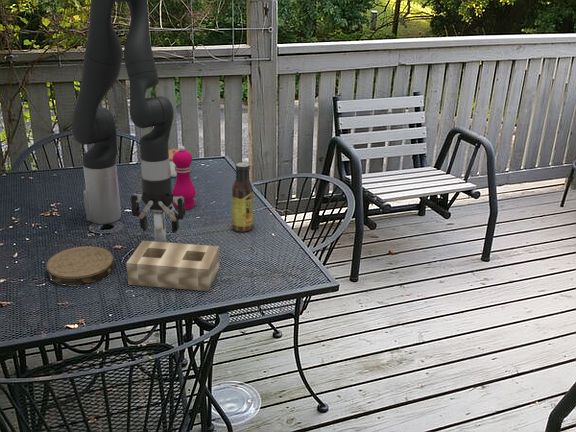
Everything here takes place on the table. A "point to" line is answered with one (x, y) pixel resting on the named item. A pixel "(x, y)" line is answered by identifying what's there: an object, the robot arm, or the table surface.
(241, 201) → the sauce bottle
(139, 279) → the hole block
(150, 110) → the robot arm
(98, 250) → the cork coaster
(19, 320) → the table surface
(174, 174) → the lidded jar
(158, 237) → the clevis pin
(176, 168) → the pepper mill
